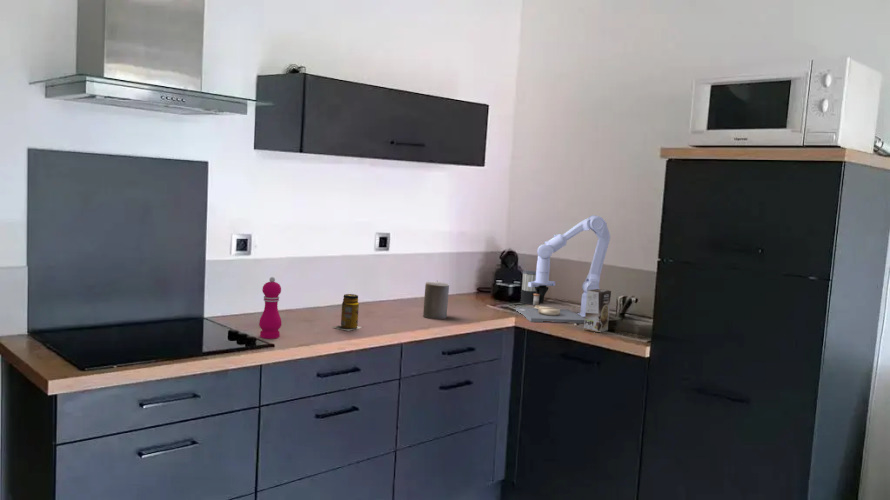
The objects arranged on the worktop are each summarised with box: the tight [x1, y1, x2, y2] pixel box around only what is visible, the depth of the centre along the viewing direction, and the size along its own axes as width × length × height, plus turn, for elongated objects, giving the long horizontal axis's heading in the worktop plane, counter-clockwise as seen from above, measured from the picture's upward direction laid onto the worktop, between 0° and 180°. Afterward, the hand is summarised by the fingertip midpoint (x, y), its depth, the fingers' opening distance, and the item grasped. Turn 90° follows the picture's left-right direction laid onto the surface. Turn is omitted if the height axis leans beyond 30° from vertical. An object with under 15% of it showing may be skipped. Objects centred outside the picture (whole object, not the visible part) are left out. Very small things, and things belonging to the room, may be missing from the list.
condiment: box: [332, 293, 363, 332], centre depth 262 cm, size 7×8×12 cm
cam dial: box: [532, 293, 561, 315], centre depth 312 cm, size 16×9×7 cm, turn 28°
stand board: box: [515, 307, 585, 324], centre depth 310 cm, size 24×24×2 cm
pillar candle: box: [422, 280, 450, 320], centre depth 293 cm, size 10×10×15 cm
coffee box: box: [583, 288, 612, 333], centre depth 287 cm, size 9×6×16 cm
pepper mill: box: [258, 276, 282, 340], centre depth 239 cm, size 7×7×20 cm
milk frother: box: [519, 270, 541, 305], centre depth 347 cm, size 14×16×15 cm
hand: (540, 302), depth 319 cm, fingers closed
